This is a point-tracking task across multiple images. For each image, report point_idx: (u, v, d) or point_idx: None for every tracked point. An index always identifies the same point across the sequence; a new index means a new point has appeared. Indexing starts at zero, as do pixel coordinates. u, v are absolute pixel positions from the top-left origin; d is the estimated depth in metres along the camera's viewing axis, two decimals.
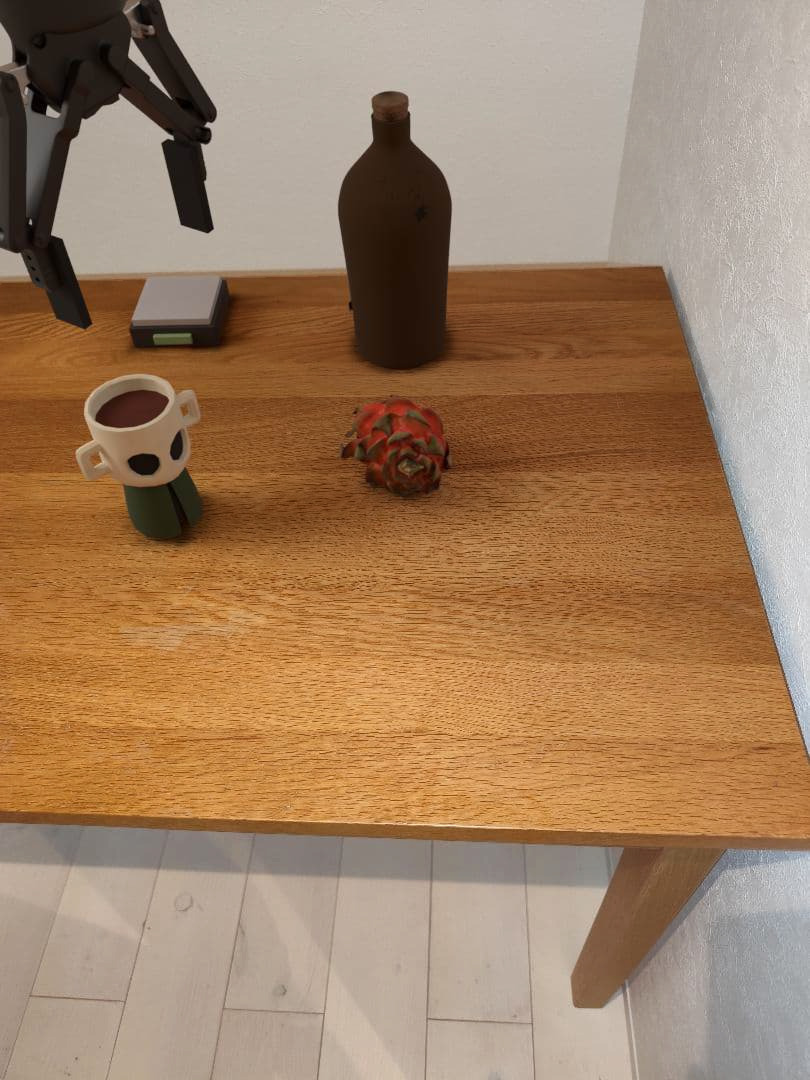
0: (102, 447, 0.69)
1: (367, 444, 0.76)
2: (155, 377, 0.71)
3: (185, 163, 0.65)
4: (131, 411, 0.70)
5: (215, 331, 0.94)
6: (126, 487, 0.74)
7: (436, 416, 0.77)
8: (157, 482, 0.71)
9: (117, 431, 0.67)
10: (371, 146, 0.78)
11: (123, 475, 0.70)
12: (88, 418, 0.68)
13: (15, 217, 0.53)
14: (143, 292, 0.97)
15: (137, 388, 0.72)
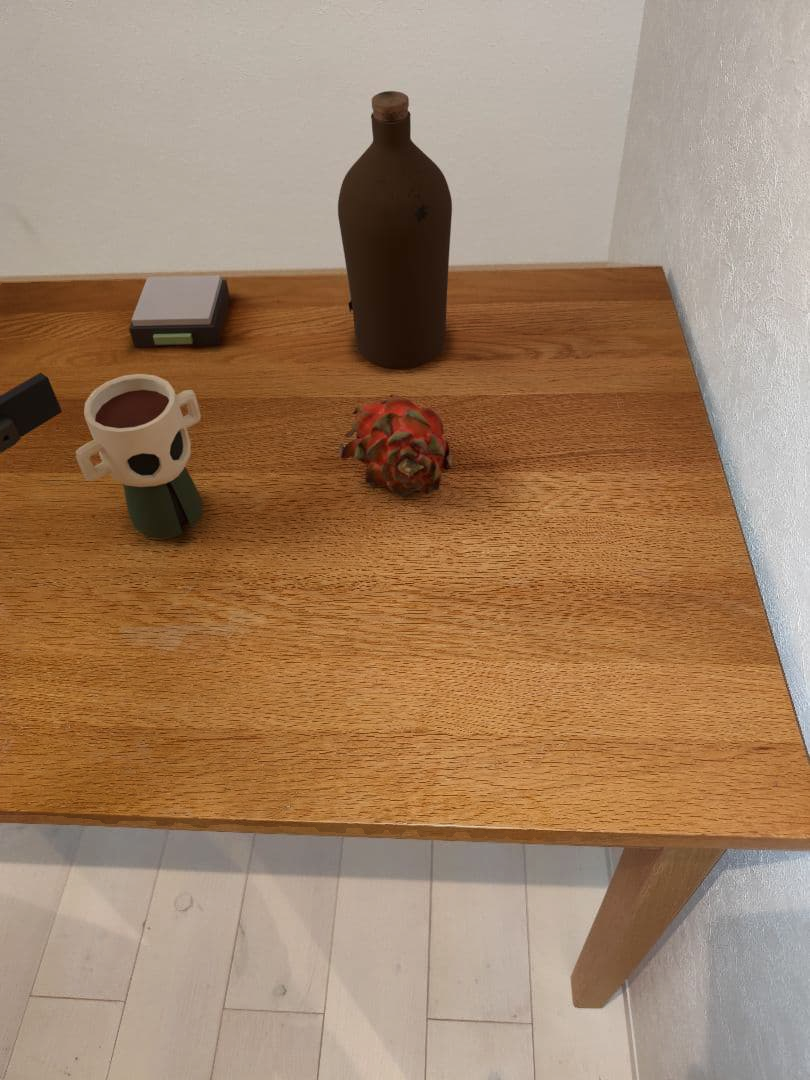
0: (102, 447, 0.69)
1: (367, 444, 0.76)
2: (155, 377, 0.71)
3: None
4: (131, 411, 0.70)
5: (215, 331, 0.94)
6: (126, 487, 0.74)
7: (436, 416, 0.77)
8: (157, 482, 0.71)
9: (117, 431, 0.67)
10: (371, 146, 0.78)
11: (123, 475, 0.70)
12: (88, 418, 0.68)
13: None
14: (143, 292, 0.97)
15: (137, 388, 0.72)
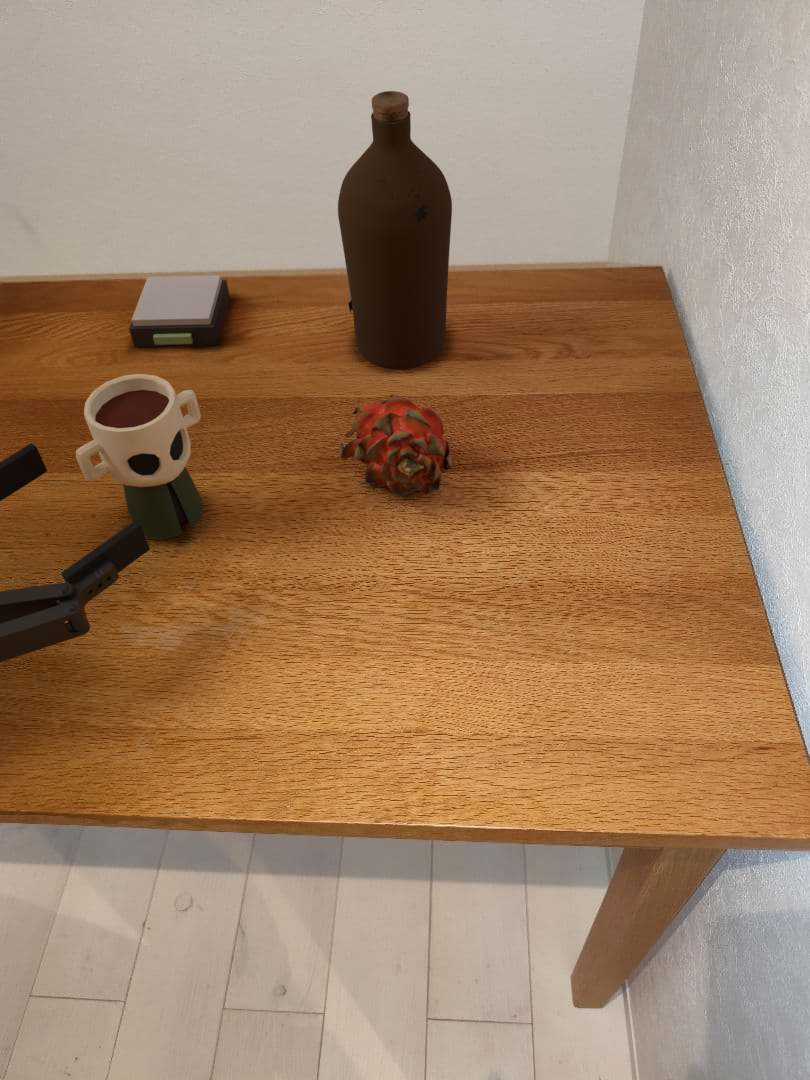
0: (102, 447, 0.69)
1: (367, 444, 0.76)
2: (155, 377, 0.71)
3: None
4: (131, 411, 0.70)
5: (215, 331, 0.94)
6: (126, 487, 0.74)
7: (436, 416, 0.77)
8: (157, 482, 0.71)
9: (117, 431, 0.67)
10: (371, 146, 0.78)
11: (123, 475, 0.70)
12: (88, 418, 0.68)
13: None
14: (143, 292, 0.97)
15: (137, 388, 0.72)
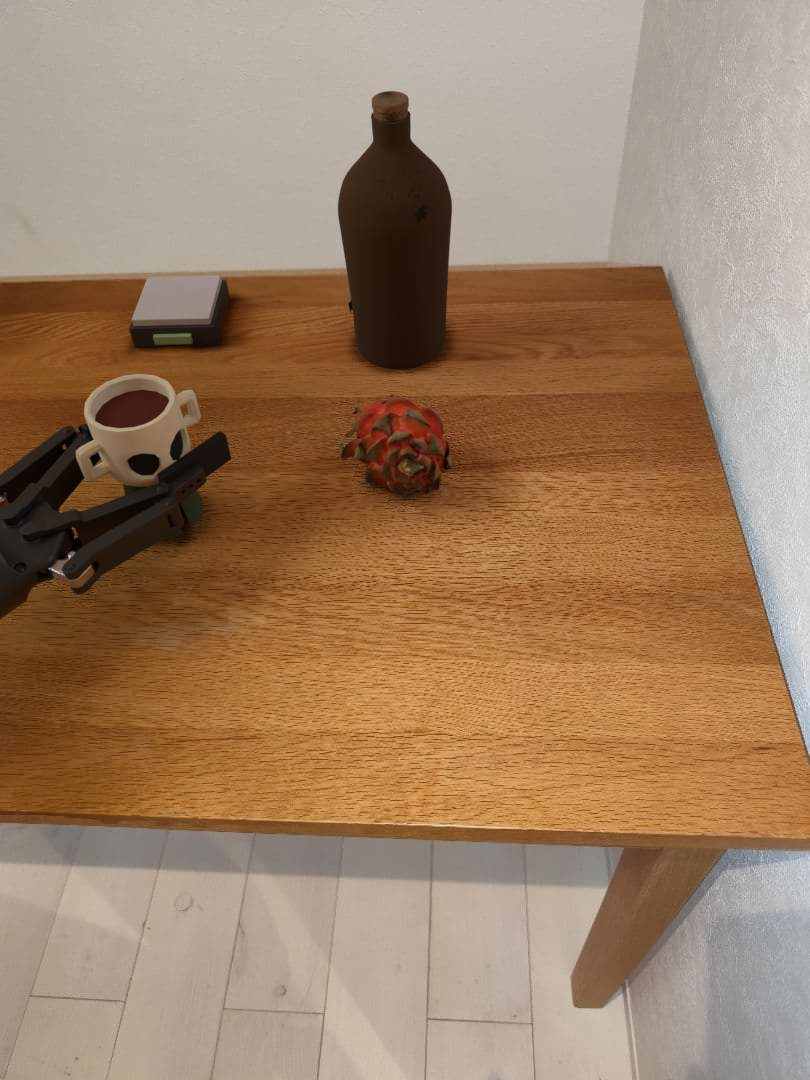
0: (101, 447, 0.69)
1: (367, 444, 0.76)
2: (155, 377, 0.71)
3: None
4: (131, 411, 0.70)
5: (215, 331, 0.94)
6: (126, 487, 0.74)
7: (436, 416, 0.77)
8: (157, 482, 0.71)
9: (117, 431, 0.67)
10: (371, 146, 0.78)
11: (123, 475, 0.70)
12: (88, 418, 0.68)
13: None
14: (143, 292, 0.97)
15: (137, 388, 0.72)
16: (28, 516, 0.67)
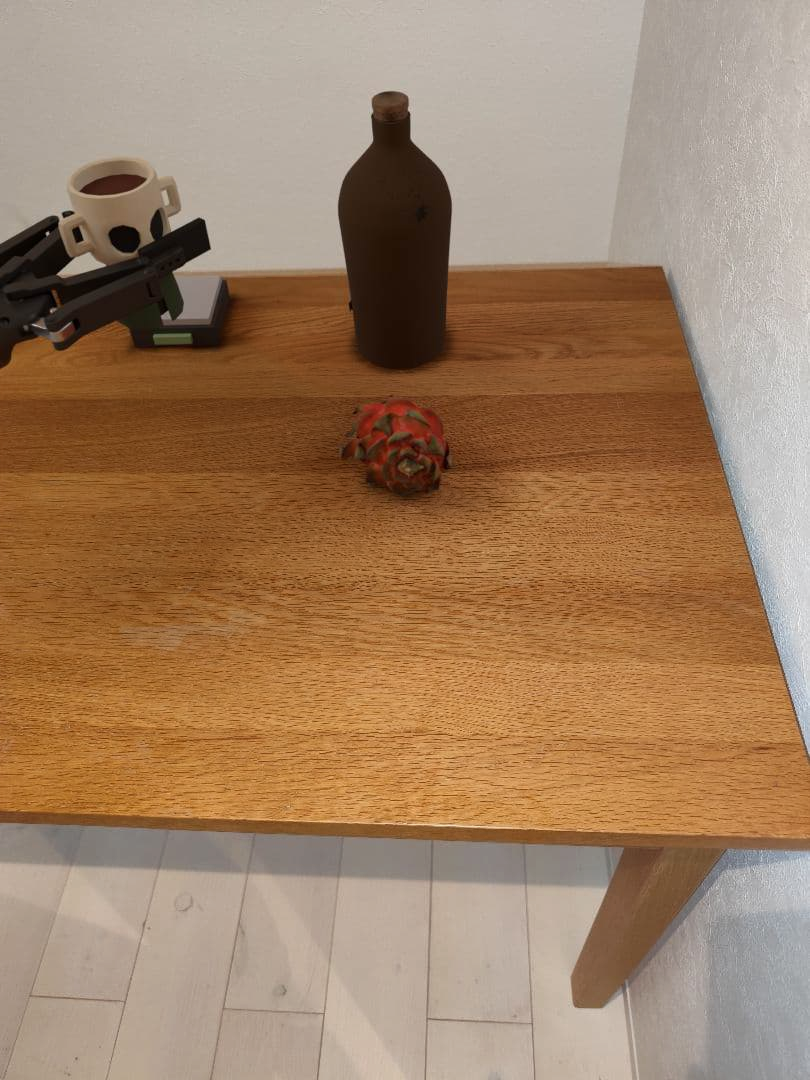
0: (84, 221, 0.71)
1: (367, 444, 0.76)
2: (136, 159, 0.73)
3: None
4: (112, 189, 0.72)
5: (215, 331, 0.94)
6: None
7: (436, 416, 0.77)
8: None
9: (98, 197, 0.69)
10: (371, 146, 0.78)
11: (104, 251, 0.72)
12: (70, 189, 0.70)
13: None
14: None
15: (119, 172, 0.74)
16: (12, 283, 0.70)
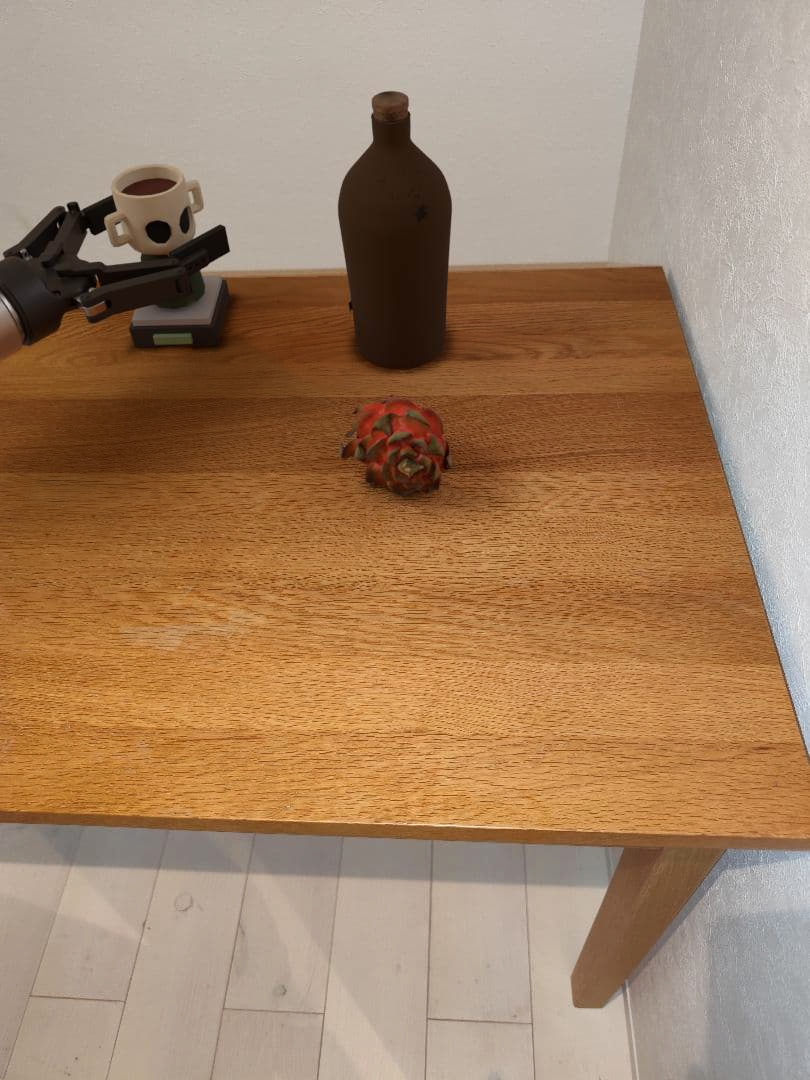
0: (125, 217, 0.86)
1: (367, 444, 0.76)
2: (167, 165, 0.88)
3: None
4: (148, 191, 0.87)
5: (215, 331, 0.94)
6: None
7: (436, 416, 0.77)
8: (169, 250, 0.88)
9: (138, 197, 0.84)
10: (371, 146, 0.78)
11: (141, 242, 0.87)
12: (114, 190, 0.85)
13: None
14: None
15: (153, 176, 0.89)
16: (60, 263, 0.84)
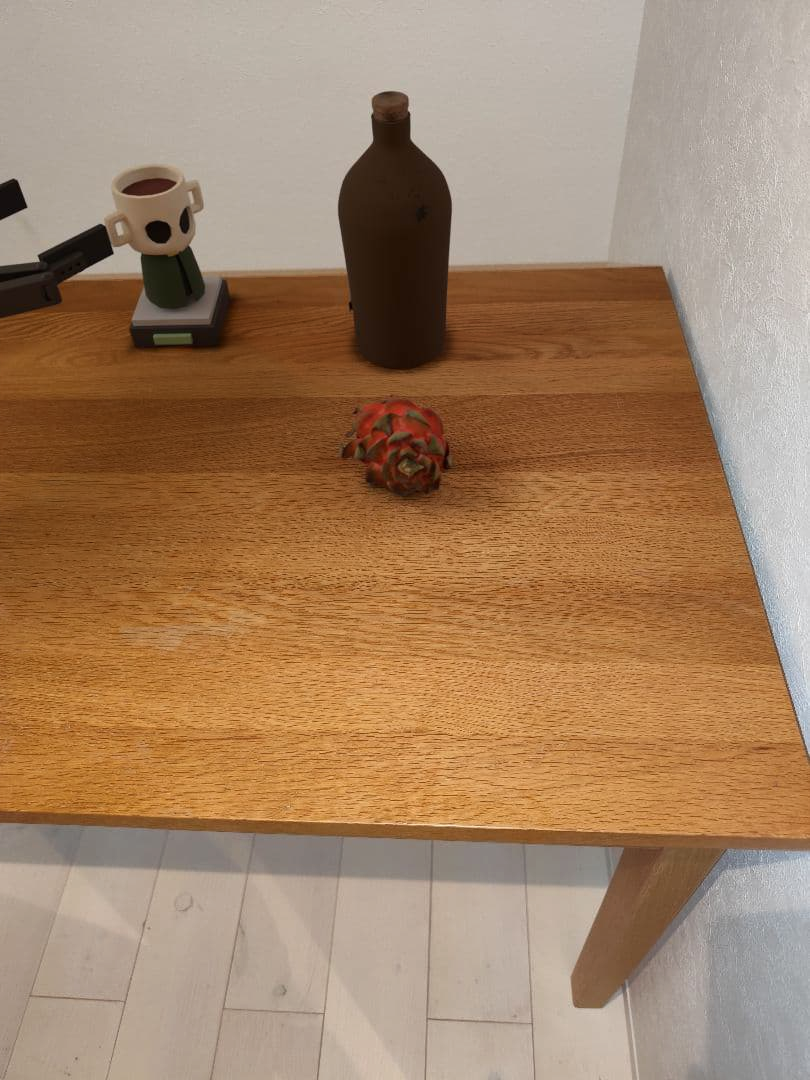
0: (125, 217, 0.86)
1: (367, 444, 0.76)
2: (167, 165, 0.88)
3: None
4: (148, 191, 0.87)
5: (215, 331, 0.94)
6: (143, 261, 0.91)
7: (436, 416, 0.77)
8: (169, 250, 0.88)
9: (138, 197, 0.84)
10: (371, 146, 0.78)
11: (141, 242, 0.87)
12: (114, 190, 0.85)
13: None
14: (143, 292, 0.97)
15: (152, 176, 0.89)
16: None
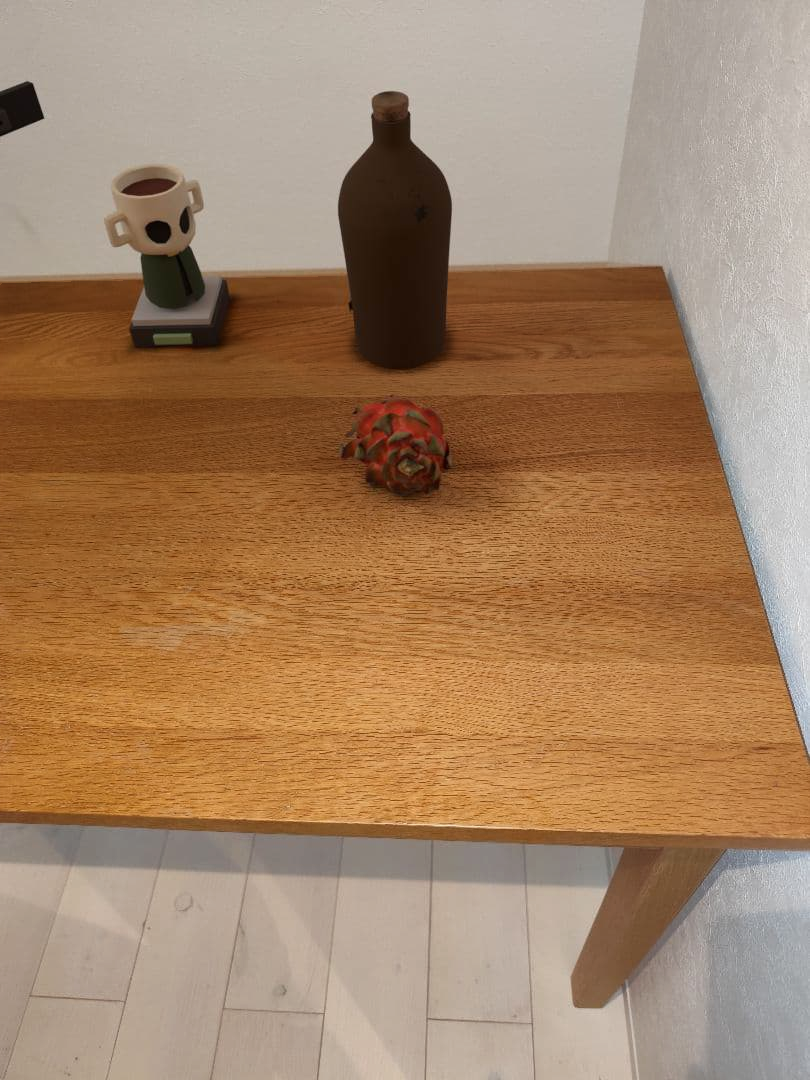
0: (125, 217, 0.86)
1: (367, 444, 0.76)
2: (167, 165, 0.88)
3: None
4: (148, 191, 0.87)
5: (215, 331, 0.94)
6: (143, 261, 0.91)
7: (436, 416, 0.77)
8: (169, 250, 0.88)
9: (138, 197, 0.84)
10: (371, 146, 0.78)
11: (141, 242, 0.87)
12: (114, 190, 0.85)
13: None
14: (143, 292, 0.97)
15: (152, 176, 0.89)
16: None
